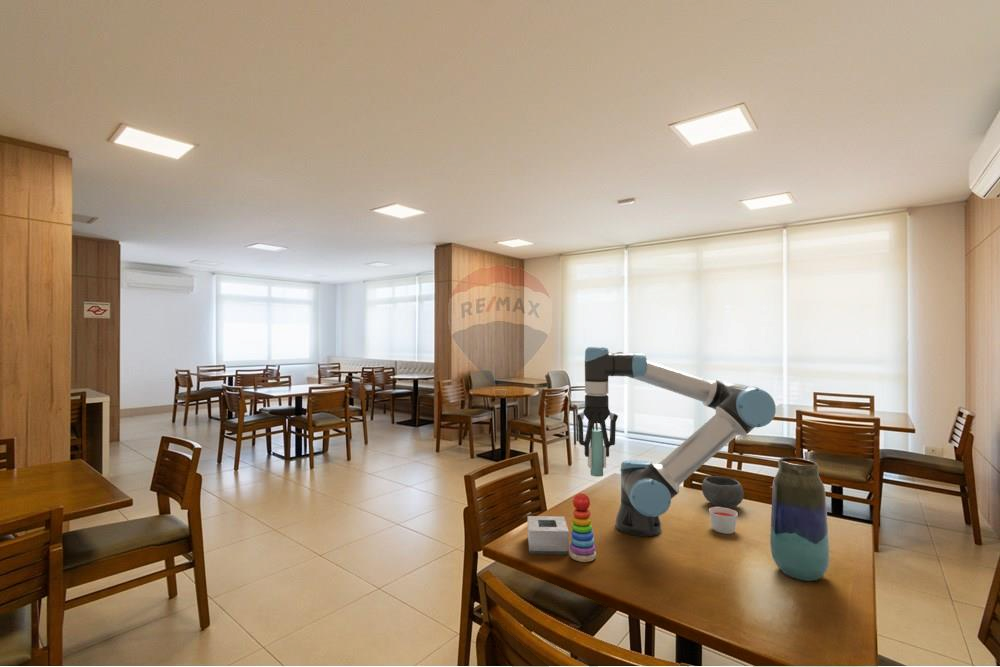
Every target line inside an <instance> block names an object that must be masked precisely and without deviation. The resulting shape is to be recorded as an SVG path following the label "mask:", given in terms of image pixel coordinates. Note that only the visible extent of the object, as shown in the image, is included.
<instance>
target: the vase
mask: <svg viewBox="0 0 1000 667" xmlns="http://www.w3.org/2000/svg"><path fill="white" fill-rule="evenodd" d="M771 494H772V495H771V496H772V497H771V515H770V516H771V518H770V553H771V556H772V559H773V561H774V563H775V565H776V566H777V568H778V569H779V570H780V571H781V572H782V573H783V574H785V575H786V576H788V577H790V578H793V579H796V580H799V581H806V582H813V581H815V582H816V581H818V580H820V579H822V577H823V576H824V575H825V574H826V572H828V570H829V566H830V553H831V551H830V537H829V526H828V525H829V524H828V522H829V520H828V512H827V509H828V508H827V497H826V488H825V485H824V483H823V481H822V480H821V477H820V475H819V464H818V463H817V462H816V461H814V460H809V459H804V458H799V457H781V458H779V459H778V471H777V472H776V474H775V476H774V478H773V481H772V493H771Z"/></svg>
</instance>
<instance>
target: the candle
mask: <svg viewBox="0 0 1000 667" xmlns="http://www.w3.org/2000/svg"><path fill="white" fill-rule="evenodd" d="M708 512H709V518H710V522H711V528H712V530H714V531H715V532H718V533H721V534H727V535H730V534H731V535H732V534H733V533H735V531H736V526H737V522H738V515H739V512H738V511H736V510H734V509H731V508H723V507H718V506H713V507H710V508H708Z"/></svg>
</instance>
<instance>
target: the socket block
mask: <svg viewBox="0 0 1000 667" xmlns="http://www.w3.org/2000/svg"><path fill="white" fill-rule="evenodd" d="M569 532H570V530H569V528H568V524H567V521H566V518H565V516H562V515H561V516H558V515H557V516H551V515H550V516H548V515H545V516H544V515H543V516H541V515H539V516H538V515H536V516H535V515H527V543H528V544H527V545H528V554H529V555H565V556H566V555H569V556H570V554H569V551H570V533H569Z"/></svg>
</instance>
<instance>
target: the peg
mask: <svg viewBox="0 0 1000 667" xmlns="http://www.w3.org/2000/svg"><path fill="white" fill-rule="evenodd" d="M590 446H591V447H592V468H590V476H592V477H597V478H599V477H603V476H604V468H603V446H604V441H603V432H602V431H601V430H597V429H592V434H591V439H590Z"/></svg>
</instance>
